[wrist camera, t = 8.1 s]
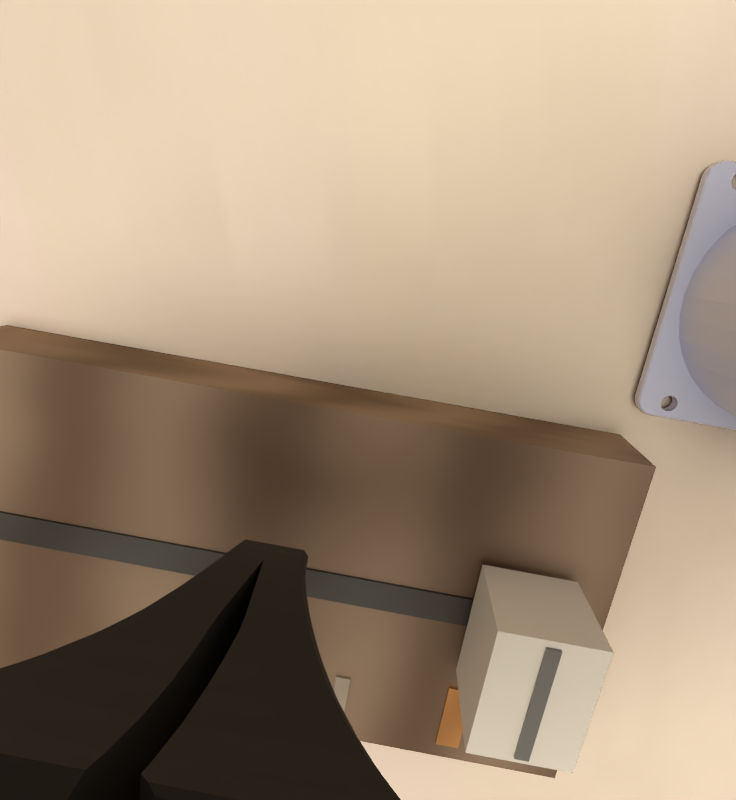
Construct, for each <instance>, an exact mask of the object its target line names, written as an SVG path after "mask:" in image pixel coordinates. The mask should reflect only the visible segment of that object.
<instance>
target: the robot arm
mask: <svg viewBox="0 0 736 800" xmlns="http://www.w3.org/2000/svg"><path fill="white" fill-rule="evenodd" d="M735 174H736V162H733V161H720V162H717V163H714V164H712V165H710V166H709V167H708V168H707V169H706V170H705V171H704V173H703V175H702V178H701V181H700V184H699V188H698V191H697V194H696V197H695V201H694V204H693V207H692V211H691V214H690V217H689V220H688V224H687V227H686V230H685V234H684V237H683V240H682V243H681V247H680V250H679V253H678V257H677V260H676V263H675V266H674V270H673V273H672V276H671V280H670V283H669V286H668V289H667V293H666V296H665V299H664V303H663V306H662V309H661V312H660V316H659V319H658V322H657V326H656V329H655V332H654V335H653V339H652V342H651V345H650V349H649V352H648V355H647V359H646V362H645V365H644V368H643V372H642V375H641V378H640V382H639V385H638V388H637V391H636V395H635V404H636V406H637V407H638V408H639V409H640V410H641V411H642V412H643V413H646V414H648V415H653V416H659V417H664V418H670V419H676V420H681V421H687V422H693V423H698V424H704V425H709V426H715V427H721V428H726V429H732V430H736V189H734V188H733V186H732V179H733V177H734V175H735ZM667 396H671V397H672V403H671V404H670V406H668V407H666V408H662V407H661V402H662V400H663V399H664V398H665V397H667ZM307 562H308V555H307V554H306V552H305V551H304V550H301V549H296V548H290V547H285V546H279V545H274V544H268V543H263V542H258V541H252V540H247V539H245V540H244V541H242V542H241V543H239V544H238V545H236V546H235V547H234V548H232V549H231V550H230V551H228V552H227V553H226V554H224V555H223V556H222V557H220V558H219V559H218V560H216V561H215V562H214V563H212V564H211V565H210V566H208V567H207V568H205V569H204V570H203V571H201V572H200V573H198V574H197V575H195V576H194V577H193V578H191V579H190V580H188V581H187V582H185V583H184V584H183V585H181V586H180V587H178V588H177V589H175V590H173V591H172V592H170V593H169V594H167V595H165V596H164V597H162V598H160V599H159V600H157V601H156V602H154V603H152V604H151V605H149V606H147V607H146V608H144V609H142V610H140V611H139V612H137V613H135V614H133V615H131V616H129V617H127V618H125V619H123V620H121V621H119V622H117V623H115V624H113V625H111V626H109V627H107V628H105V629H103V630H101V631H98V632H96V633H94V634H92V635H89V636H87V637H84V638H82V639H79V640H77V641H74V642H72V643H69V644H67V645H64V646H62V647H59V648H57V649H54V650H52V651H49V652H47V653H44V654H42V655H39V656H36V657H33V658H30V659H27V660H24V661H21V662H18V663H15V664H12V665H9V666H6V667H3V668H0V800H400V798H399V797H398V796H397V794H396V793H395V792H394V791H393V789H392V788H391V787H390V785H389V784H388V783H387V781H386V780H385V779H384V777H383V776H382V775H381V773H380V772H379V770H378V769H377V767H376V766H375V765H374V763H373V762H372V760H371V758H370V757H369V755H368V754H367V752H366V750H365V749H364V747H363V745H362V744H361V742H360V741H359V739H358V737H357V736H356V734H355V732H354V730H353V728H352V726H351V724H350V722H349V720H348V718H347V717H346V715H345V713H344V711H343V709H342V707H341V705H340V703H339V701H338V699H337V697H336V695H335V692H334V690H333V688H332V685H331V683H330V681H329V678H328V675H327V673H326V670H325V667H324V665H323V662H322V659H321V656H320V653H319V650H318V646H317V643H316V639H315V635H314V631H313V628H312V623H311V618H310V613H309V607H308V601H307V594H306V582H305V575H306V568H307Z"/></svg>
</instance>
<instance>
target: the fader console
mask: <svg viewBox="0 0 736 800" xmlns="http://www.w3.org/2000/svg"><path fill="white" fill-rule="evenodd" d="M655 468H656V467H655V466H654V465H653V464H652V463H651V462H650V461H649V460H647V459H646V458H645V457H644V456H643V455H642V454H641V453H640V452H639V451H637V450H636V449H635V448H634V447H633V446H632V445H631V444H630V443H629V442H627V441H626V440H625V439H624V438H623V437H622V436H621V435H618V434H613V433H607V432H601V431H596V430H590V429H585V428H579V427H573V426H568V425H562V424H557V423H551V422H545V421H540V420H534V419H529V418H523V417H517V416H512V415H506V414H501V413H495V412H489V411H484V410H478V409H473V408H467V407H461V406H456V405H450V404H444V403H439V402H433V401H428V400H422V399H416V398H411V397H405V396H400V395H394V394H388V393H383V392H377V391H372V390H366V389H360V388H355V387H349V386H344V385H338V384H332V383H327V382H321V381H315V380H310V379H304V378H299V377H293V376H287V375H282V374H276V373H271V372H265V371H259V370H254V369H248V368H243V367H237V366H231V365H226V364H220V363H215V362H209V361H203V360H198V359H192V358H187V357H181V356H175V355H170V354H164V353H158V352H153V351H147V350H142V349H136V348H130V347H125V346H119V345H114V344H108V343H102V342H97V341H91V340H86V339H80V338H74V337H69V336H63V335H58V334H52V333H46V332H41V331H35V330H30V329H24V328H18V327H13V326H7V325H5V326H0V668H3V667H6V666H9V665H12V664H15V663H18V662H21V661H24V660H27V659H30V658H33V657H36V656H39V655H42V654H44V653H47V652H49V651H52V650H54V649H57V648H59V647H62V646H64V645H67V644H69V643H72V642H74V641H77V640H79V639H82V638H84V637H87V636H89V635H92V634H94V633H96V632H98V631H101V630H103V629H105V628H107V627H109V626H111V625H113V624H115V623H117V622H119V621H121V620H123V619H125V618H127V617H129V616H131V615H133V614H135V613H137V612H139V611H140V610H142V609H144V608H146V607H147V606H149V605H151V604H152V603H154V602H156V601H157V600H159V599H160V598H162V597H164V596H165V595H167V594H169V593H170V592H172V591H173V590H175V589H177V588H178V587H180V586H181V585H183V584H184V583H185V582H187V581H188V580H190V579H191V578H193V577H194V576H195V575H197V574H198V573H200V572H201V571H203V570H204V569H205V568H207V567H208V566H210V565H211V564H212V563H214V562H215V561H216V560H218V559H219V558H220V557H222V556H223V555H224V554H226V553H227V552H228V551H230V550H231V549H232V548H234V547H235V546H236V545H238V544H239V543H241V542H242V541H244V540H245V539H247V540H252V541H258V542H263V543H268V544H274V545H279V546H285V547H290V548H296V549H301V550H304V551H305V552H306V554H307V555H308V562H307V568H306V575H305V582H306V594H307V601H308V607H309V613H310V618H311V623H312V628H313V631H314V635H315V639H316V643H317V646H318V650H319V653H320V656H321V659H322V662H323V665H324V667H325V670H326V673H327V675H328V678H329V681H330V683H331V685H332V688H333V690H334V692H335V695H336V697H337V699H338V701H339V703H340V705H341V707H342V709H343V711H344V713H345V715H346V717H347V718H348V720H349V722H350V724H351V726H352V728H353V730H354V732H355V734H356V736H357V737H358V739H359V741H364V742H369V743H374V744H379V745H385V746H390V747H395V748H400V749H406V750H411V751H416V752H421V753H426V754H432V755H437V756H442V757H447V758H453V759H458V760H463V761H468V762H474V763H479V764H484V765H489V766H495V767H500V768H505V769H510V770H516V771H521V772H526V773H531V774H537V775H542V776H547V777H552V778H555V775H556V772H557V770H553V769H548V768H543V767H538V766H532V765H527V764H522V763H517V762H512V761H506V760H501V759H496V758H491V757H485V756H480V755H475V754H470V753H465V744H464V735H463V727H462V718H461V709H460V700H459V691H458V683H457V674H456V668H457V664H458V660H459V656H460V652H461V648H462V644H463V640H464V636H465V632H466V628H467V624H468V620H469V616H470V612H471V608H472V604H473V600H474V596H475V592H476V588H477V584H478V580H479V576H480V572H481V568H482V564H483V565H488V566H493V567H499V568H504V569H510V570H515V571H521V572H526V573H531V574H537V575H542V576H548V577H553V578H559V579H564V580H570V581H575V582H578V583H579V585H580V587H581V589H582V591H583V593H584V595H585V597H586V599H587V601H588V603H589V605H590V607H591V609H592V611H593V613H594V615H595V617H596V619H597V621H598V623H599V625H600V627H601V629H602V631H603V628H604V625H605V622H606V618H607V615H608V612H609V609H610V606H611V603H612V600H613V597H614V594H615V591H616V588H617V585H618V582H619V579H620V576H621V572H622V569H623V566H624V563H625V560H626V557H627V554H628V551H629V548H630V545H631V542H632V539H633V536H634V533H635V529H636V526H637V523H638V520H639V517H640V514H641V511H642V508H643V505H644V502H645V499H646V496H647V493H648V490H649V486H650V483H651V480H652V477H653V474H654V471H655Z"/></svg>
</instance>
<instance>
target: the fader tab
mask: <svg viewBox="0 0 736 800" xmlns="http://www.w3.org/2000/svg"><path fill="white" fill-rule="evenodd" d="M612 656H613V651H612V649H611V647H610V645H609V643H608V641H607V639H606V637H605V635H604V633H603V631H602V629H601V627H600V625H599V623H598V621H597V619H596V617H595V615H594V613H593V611H592V609H591V607H590V605H589V603H588V601H587V599H586V597H585V595H584V593H583V591H582V589H581V587H580V585H579V583H578V582H575V581H570V580H564V579H559V578H553V577H548V576H542V575H537V574H531V573H526V572H521V571H515V570H510V569H504V568H499V567H493V566H488V565H483V564H482V568H481V572H480V576H479V580H478V584H477V588H476V592H475V596H474V600H473V604H472V608H471V612H470V616H469V620H468V624H467V628H466V632H465V636H464V640H463V644H462V648H461V652H460V656H459V660H458V664H457V668H456V674H457V683H458V691H459V700H460V709H461V718H462V727H463V735H464V744H465V753H470V754H475V755H480V756H485V757H491V758H496V759H501V760H506V761H512V762H517V763H522V764H527V765H532V766H538V767H543V768H548V769H553V770H559V771H564V772H569V773H573V772H574V769H575V766H576V763H577V760H578V757H579V754H580V751H581V748H582V745H583V742H584V739H585V736H586V733H587V730H588V727H589V724H590V721H591V718H592V715H593V712H594V709H595V706H596V703H597V700H598V697H599V694H600V691H601V688H602V685H603V682H604V679H605V676H606V673H607V671H608V668H609V665H610V662H611V659H612Z"/></svg>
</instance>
